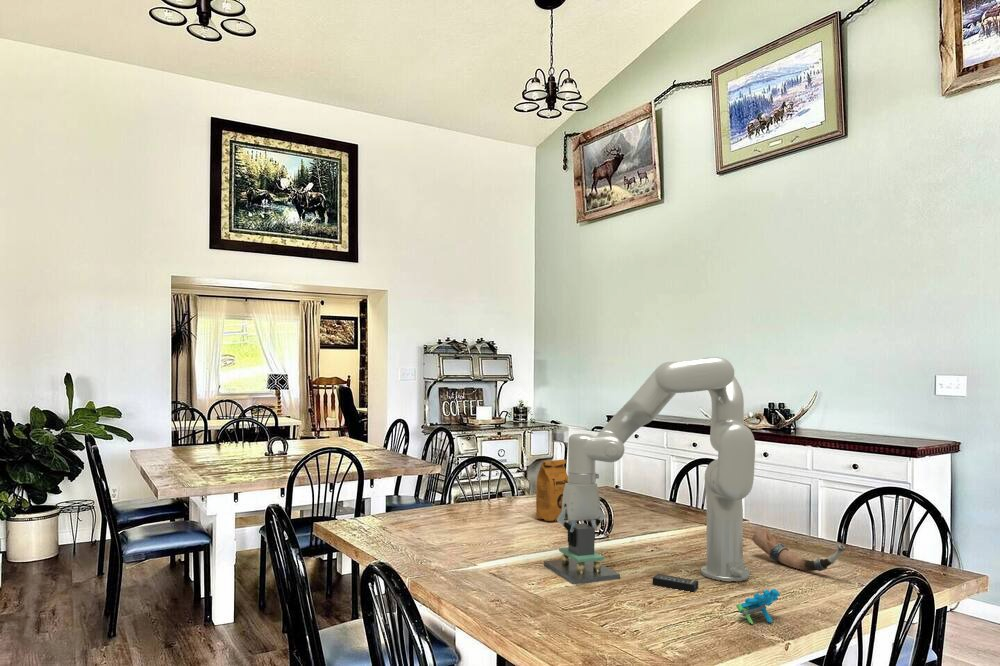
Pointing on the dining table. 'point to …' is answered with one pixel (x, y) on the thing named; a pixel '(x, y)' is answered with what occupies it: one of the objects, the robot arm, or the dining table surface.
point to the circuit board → (582, 558)
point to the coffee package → (550, 489)
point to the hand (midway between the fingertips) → (581, 544)
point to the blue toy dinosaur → (758, 604)
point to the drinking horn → (784, 556)
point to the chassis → (581, 570)
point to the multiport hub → (675, 582)
